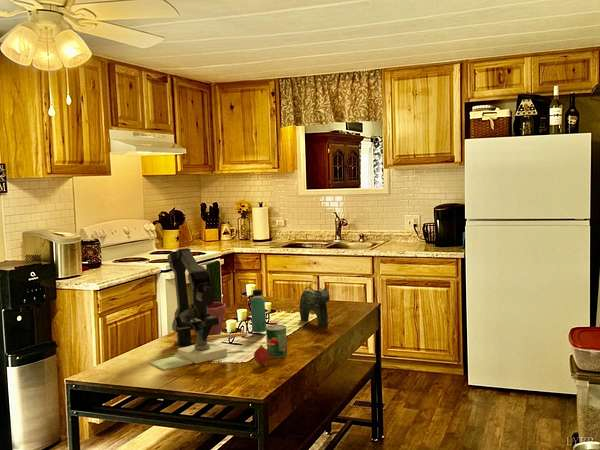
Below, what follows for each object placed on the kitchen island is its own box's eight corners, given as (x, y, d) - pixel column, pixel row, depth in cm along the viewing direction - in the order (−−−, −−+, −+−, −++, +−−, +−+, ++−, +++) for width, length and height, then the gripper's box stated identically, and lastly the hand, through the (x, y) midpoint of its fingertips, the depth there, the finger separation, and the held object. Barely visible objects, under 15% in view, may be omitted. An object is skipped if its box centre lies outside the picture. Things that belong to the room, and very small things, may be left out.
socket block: (178, 356, 261) (177, 344, 260) (208, 349, 269) (208, 338, 269) (195, 363, 250) (195, 351, 249) (227, 355, 258) (226, 344, 258)
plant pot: (206, 338, 287) (204, 309, 286) (189, 333, 297) (187, 305, 296) (233, 332, 296) (231, 304, 295) (215, 327, 307) (214, 300, 305)
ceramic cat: (332, 325, 302) (330, 282, 300) (320, 328, 298) (319, 284, 297) (307, 318, 318) (305, 277, 317) (296, 320, 315) (294, 279, 313)
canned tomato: (290, 352, 260) (289, 325, 259) (283, 358, 253) (282, 330, 252) (271, 351, 263) (270, 324, 262) (264, 356, 255) (262, 329, 254)
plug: (192, 356, 260) (190, 331, 259) (205, 353, 264) (204, 328, 263) (199, 359, 255) (198, 334, 254) (213, 356, 259) (211, 331, 258)
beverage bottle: (264, 336, 287) (262, 291, 286) (250, 335, 289) (248, 291, 287) (268, 332, 294) (266, 288, 292) (254, 332, 295) (252, 288, 293)
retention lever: (198, 340, 264) (198, 337, 264) (198, 339, 266) (197, 336, 266) (247, 336, 269) (247, 333, 269) (246, 334, 271) (246, 332, 271)
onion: (254, 364, 246) (253, 343, 245) (269, 363, 246) (268, 342, 246) (254, 368, 240) (253, 347, 240) (270, 367, 241) (269, 346, 240)
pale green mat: (149, 363, 252) (149, 362, 252) (177, 357, 259) (177, 355, 259) (163, 370, 242) (163, 368, 242) (192, 363, 250) (192, 361, 250)
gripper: (170, 301, 260) (172, 339, 261) (193, 307, 245) (195, 348, 247) (194, 296, 267) (196, 334, 268) (219, 303, 252) (221, 342, 254)
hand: (201, 339), depth 259 cm, fingers closed on plug, 4 cm apart
